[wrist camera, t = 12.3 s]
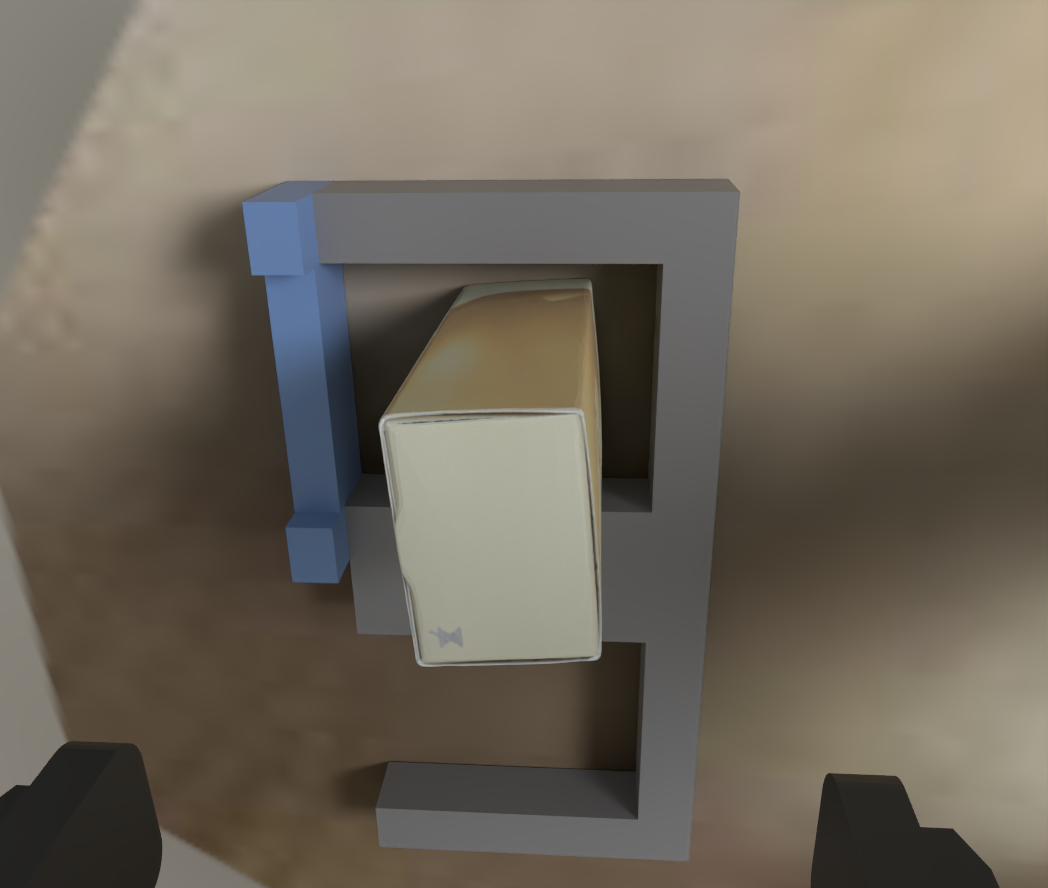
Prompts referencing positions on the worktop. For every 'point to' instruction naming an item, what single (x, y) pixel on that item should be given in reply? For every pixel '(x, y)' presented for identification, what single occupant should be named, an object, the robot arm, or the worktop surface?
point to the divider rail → (626, 503)
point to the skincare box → (501, 479)
